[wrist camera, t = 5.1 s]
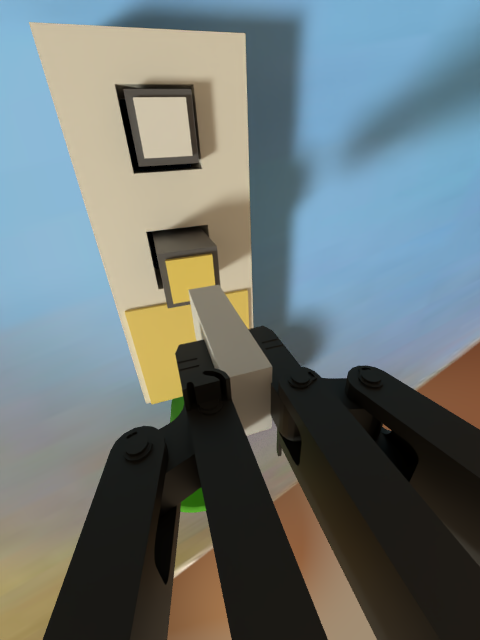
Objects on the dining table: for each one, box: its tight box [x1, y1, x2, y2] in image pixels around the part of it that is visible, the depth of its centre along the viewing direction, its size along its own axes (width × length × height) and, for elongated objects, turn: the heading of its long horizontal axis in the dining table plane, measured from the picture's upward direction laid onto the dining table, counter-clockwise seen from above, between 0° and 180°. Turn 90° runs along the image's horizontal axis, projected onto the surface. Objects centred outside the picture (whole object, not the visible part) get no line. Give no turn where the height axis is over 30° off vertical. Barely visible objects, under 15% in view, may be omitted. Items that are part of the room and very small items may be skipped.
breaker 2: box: [152, 226, 221, 308], centre depth 20 cm, size 4×4×6 cm
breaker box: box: [29, 22, 253, 404], centre depth 23 cm, size 26×11×5 cm, turn 3°
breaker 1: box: [123, 89, 199, 167], centre depth 19 cm, size 4×4×6 cm
